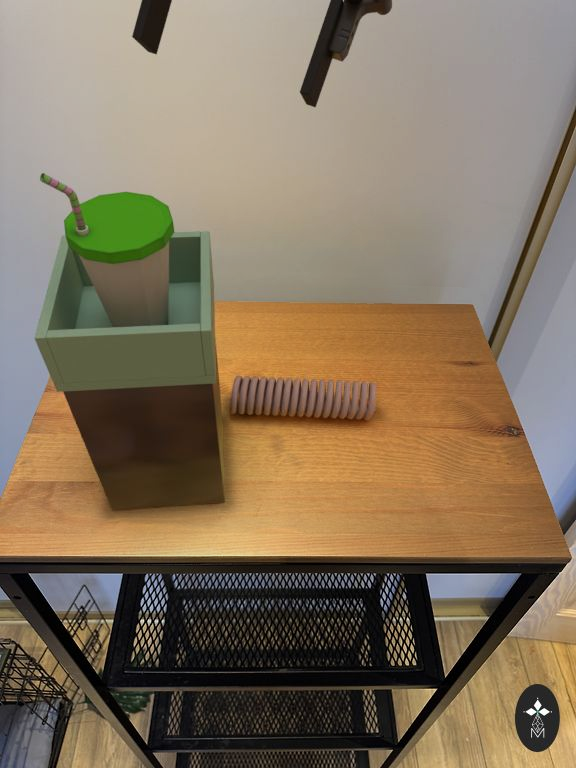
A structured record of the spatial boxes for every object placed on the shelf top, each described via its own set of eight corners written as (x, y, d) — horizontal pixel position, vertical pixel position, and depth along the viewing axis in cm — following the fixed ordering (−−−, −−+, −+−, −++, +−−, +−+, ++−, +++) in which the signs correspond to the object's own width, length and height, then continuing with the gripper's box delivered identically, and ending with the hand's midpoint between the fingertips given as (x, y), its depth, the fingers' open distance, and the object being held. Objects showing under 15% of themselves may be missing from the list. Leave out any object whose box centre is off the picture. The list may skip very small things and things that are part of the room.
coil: (379, 373, 69) (230, 366, 69) (383, 401, 66) (226, 393, 66) (374, 401, 72) (231, 394, 72) (377, 428, 69) (227, 421, 69)
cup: (192, 295, 52) (172, 133, 41) (181, 358, 47) (154, 192, 36) (105, 293, 52) (61, 129, 41) (85, 355, 47) (28, 188, 35)
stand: (222, 415, 70) (210, 286, 55) (225, 502, 62) (212, 381, 47) (121, 421, 69) (81, 291, 53) (111, 510, 61) (61, 389, 46)
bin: (213, 284, 55) (209, 230, 50) (216, 383, 47) (211, 330, 42) (78, 289, 54) (61, 235, 49) (56, 392, 45) (34, 338, 41)
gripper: (496, -166, 40) (382, 138, 45) (181, -244, 44) (105, 45, 48) (515, -268, 33) (377, 107, 38) (135, -351, 37) (51, 0, 41)
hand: (224, 73), depth 43 cm, fingers open, 13 cm apart
